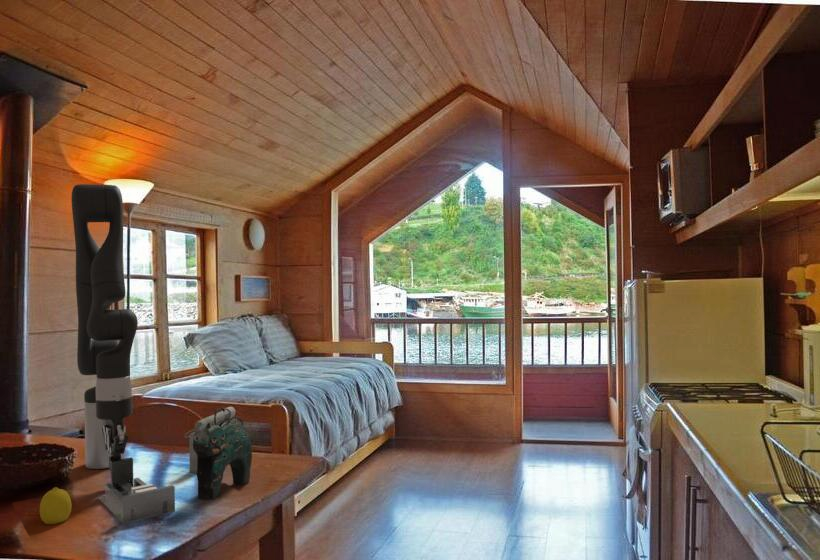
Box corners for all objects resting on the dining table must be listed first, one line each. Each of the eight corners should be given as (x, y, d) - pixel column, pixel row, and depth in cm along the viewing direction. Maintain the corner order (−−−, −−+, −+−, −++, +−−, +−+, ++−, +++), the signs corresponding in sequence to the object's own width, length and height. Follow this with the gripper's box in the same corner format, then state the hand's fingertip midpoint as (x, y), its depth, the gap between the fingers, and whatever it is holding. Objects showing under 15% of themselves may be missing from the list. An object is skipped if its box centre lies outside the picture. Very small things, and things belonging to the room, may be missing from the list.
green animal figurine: (212, 509, 134) (211, 415, 134) (185, 507, 136) (184, 414, 136) (257, 480, 154) (256, 397, 154) (233, 479, 155) (231, 397, 155)
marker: (131, 512, 129) (130, 487, 129) (152, 507, 132) (151, 483, 132) (137, 517, 126) (136, 492, 126) (158, 512, 129) (157, 487, 129)
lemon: (48, 523, 128) (47, 483, 128) (76, 521, 129) (75, 482, 129) (34, 534, 123) (33, 492, 123) (64, 532, 123) (63, 491, 123)
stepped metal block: (111, 492, 141) (110, 461, 141) (131, 488, 144) (131, 457, 144) (122, 503, 134) (121, 470, 134) (144, 498, 137) (143, 466, 137)
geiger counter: (203, 422, 156) (249, 402, 180) (179, 421, 157) (228, 401, 181) (204, 479, 156) (249, 451, 180) (180, 477, 157) (229, 450, 181)
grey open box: (97, 504, 139) (97, 474, 139) (145, 493, 145) (144, 465, 145) (123, 531, 123) (122, 497, 123) (175, 518, 130) (174, 486, 130)
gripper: (89, 394, 149) (90, 468, 149) (103, 402, 139) (105, 481, 139) (123, 390, 154) (124, 461, 154) (139, 397, 144) (140, 474, 144)
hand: (115, 471), depth 147 cm, fingers closed
